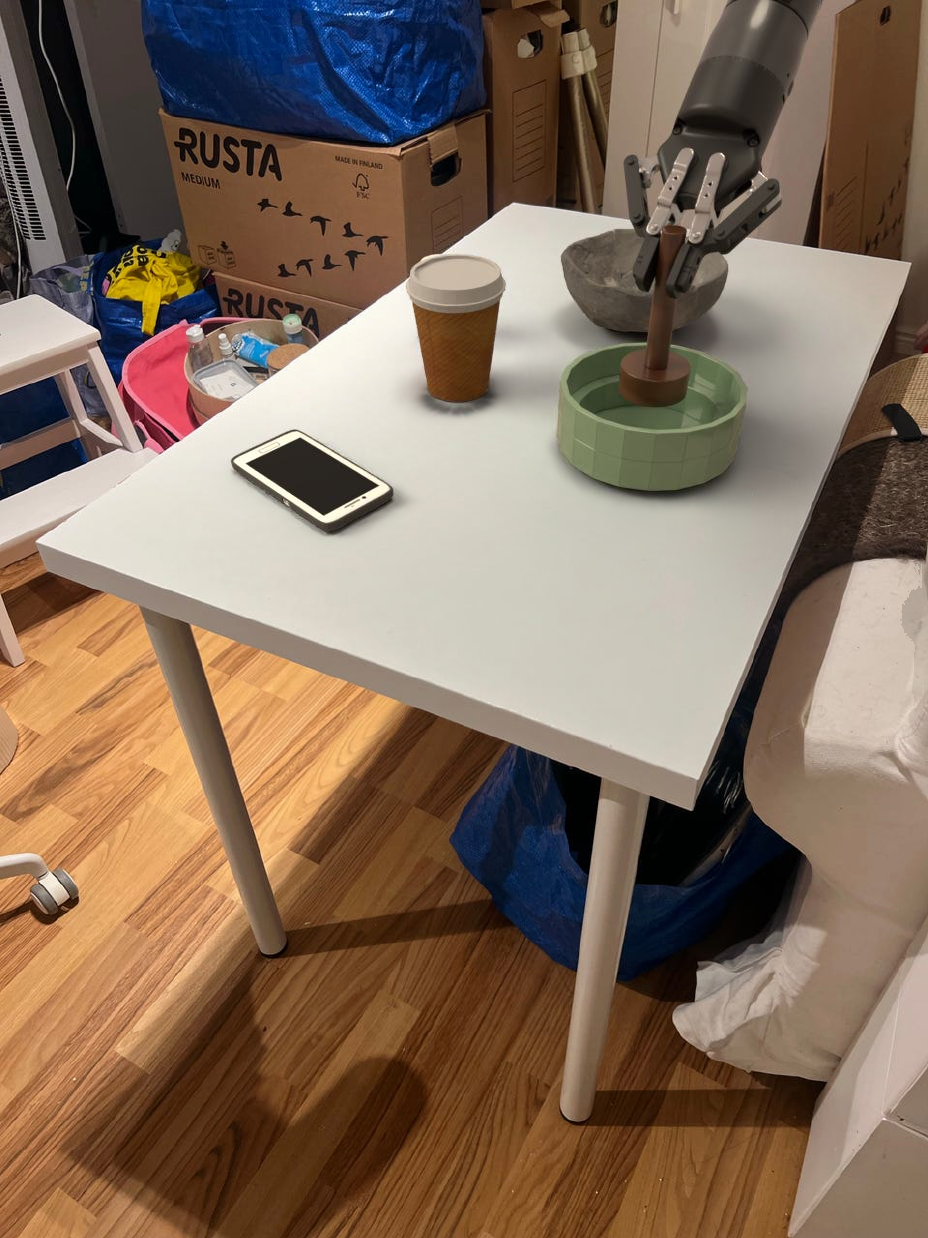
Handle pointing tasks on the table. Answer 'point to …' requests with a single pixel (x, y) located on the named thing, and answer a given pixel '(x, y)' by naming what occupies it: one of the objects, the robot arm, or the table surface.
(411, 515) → the table surface
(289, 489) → the cell phone
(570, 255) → the bowl
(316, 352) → the table surface
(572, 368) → the mixing bowl
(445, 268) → the disposable coffee cup
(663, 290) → the wooden rod on disc
